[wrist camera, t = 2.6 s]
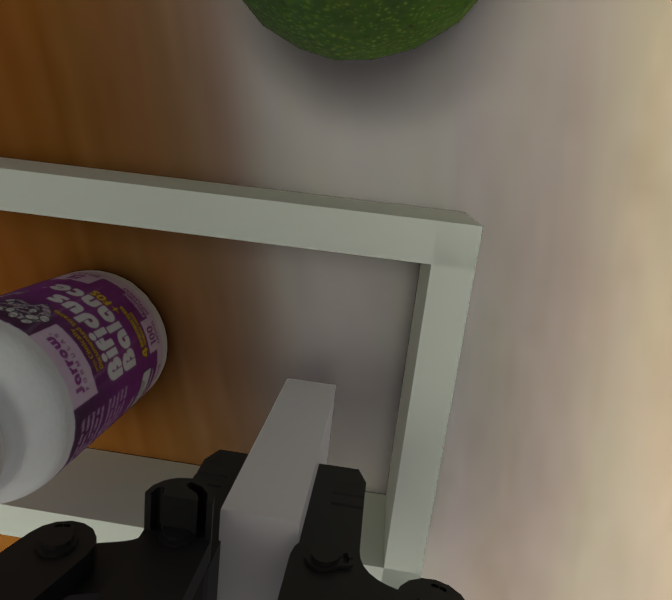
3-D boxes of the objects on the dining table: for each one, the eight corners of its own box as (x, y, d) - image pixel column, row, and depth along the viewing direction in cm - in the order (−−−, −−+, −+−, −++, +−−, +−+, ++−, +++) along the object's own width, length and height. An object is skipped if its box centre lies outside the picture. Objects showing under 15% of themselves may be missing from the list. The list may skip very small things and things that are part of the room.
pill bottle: (196, 316, 21) (34, 446, 11) (135, 423, 22) (-55, 616, 13) (71, 238, 20) (-201, 305, 11) (17, 351, 22) (-265, 495, 12)
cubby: (-16, 155, 20) (-115, 154, 16) (464, 212, 19) (483, 226, 15) (1, 460, 23) (-79, 520, 19) (411, 525, 22) (415, 604, 18)
